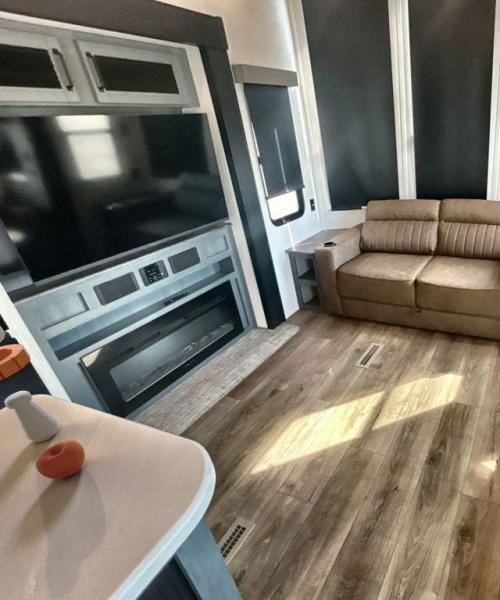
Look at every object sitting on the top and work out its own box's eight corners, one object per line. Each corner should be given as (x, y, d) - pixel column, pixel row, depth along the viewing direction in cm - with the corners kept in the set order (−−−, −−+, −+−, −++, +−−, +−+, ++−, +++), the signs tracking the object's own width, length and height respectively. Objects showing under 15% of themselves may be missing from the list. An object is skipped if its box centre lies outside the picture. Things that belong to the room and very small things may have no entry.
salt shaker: (31, 437, 88) (-3, 397, 82) (60, 422, 92) (30, 383, 85) (33, 449, 84) (-3, 408, 78) (63, 433, 88) (32, 393, 82)
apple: (86, 451, 82) (66, 426, 78) (97, 466, 78) (78, 440, 74) (45, 477, 77) (23, 451, 73) (55, 493, 73) (32, 467, 69)
